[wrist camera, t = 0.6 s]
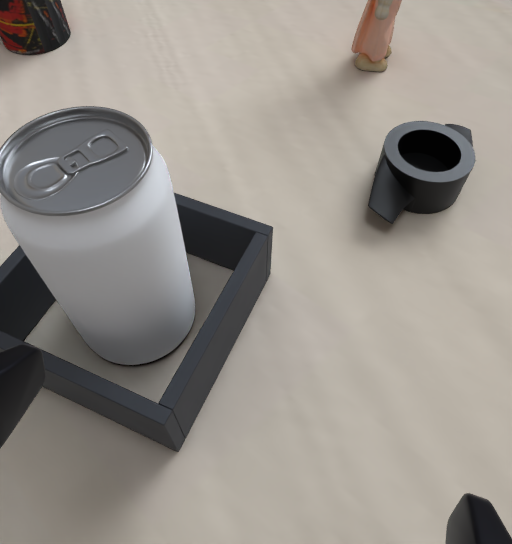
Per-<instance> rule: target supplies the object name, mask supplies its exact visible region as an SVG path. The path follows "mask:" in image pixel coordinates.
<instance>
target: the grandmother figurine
mask: <svg viewBox="0 0 512 544" xmlns="http://www.w3.org/2000/svg"><path fill="white" fill-rule="evenodd" d="M401 1H402V0H368V2H367V4H366V7H365V10H364V12H363V15H362V17H361V20H360V22H359V25H358V28H357V31H356V34H355V37H354V41H353V45H352V52H354V53H358V52H359V53H360V54H359V56H358V57H357V59H356V61H355V65H356V67H357V68H358V69H361V70H365V71H378V72H381V71H384V70H386V68H387V61H386V60H385V58H384V57H388V56H389V55H390V54H391V48H390V46H389V44H390V43H391V39H392V35H393V29H394V22H395V16H396V15H397V12H398V10H399V7H400V4H401Z"/></svg>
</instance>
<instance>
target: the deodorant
mask: <svg viewBox="0 0 512 544" xmlns="http://www.w3.org/2000/svg"><path fill="white" fill-rule="evenodd" d="M0 37H1V39H2V41H3V44H4V45H5V47H6V48H7V49H8V50H10V51H12V52H15V53H18V54H25V55H32V54H40V53H45V52H48V51H51V50H54V49H56V48H58V47H60V46H61V45H63V44H64V43H65V42H66V41H67V40H68V38H69V37H70V29H69V26H68V23H67V20H66V16H65V13H64V10H63V7H62V4H61V1H60V0H0Z"/></svg>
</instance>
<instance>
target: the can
mask: <svg viewBox="0 0 512 544" xmlns="http://www.w3.org/2000/svg"><path fill="white" fill-rule="evenodd" d="M0 193H1V194H0V202H1V210H2V214H3V217H4V219H5V221H6V224H7V226H8V227H9V229H10V231H11V232H12V234H13V236H14V237H15V239H16V240H17V242H18V243H19V245H20V246H21V248H22V249H23V251H24V253H25V254H26V256H27V257H28V259H29V260H30V261H31V263H32V264H33V266H34V267H35V269H36V270H37V272H38V273H39V275H40V276H41V278H42V279H43V281H44V282H45V284H46V285H47V287H48V288H49V290H50V291H51V293H52V294H53V296H54V297H55V299H56V300H57V302H58V303H59V304H60V306H61V307H62V309H63V310H64V312H65V313H66V315H67V316H68V318H69V319H70V321H71V322H72V323H73V325H74V326H75V328H76V329H77V331H78V332H79V334H80V335H81V336H82V338H83V339H84V341H85V342H86V343H87V345H88V346H89V347H90V348H91V349H92V350H93V351H94V352H95V353H97V354H98V355H99V356H101V357H102V358H104V359H106V360H108V361H111V362H114V363H118V364H124V365H136V364H143V363H148V362H151V361H154V360H157V359H159V358H161V357H163V356H165V355H166V354H168V353H170V352H171V351H172V350H174V349H175V348H176V347H177V346H178V345H179V344H180V343H181V342H182V341H183V340H184V338H185V337H186V336H187V334H188V332H189V331H190V329H191V326H192V324H193V321H194V317H195V299H194V292H193V287H192V282H191V276H190V271H189V266H188V261H187V256H186V251H185V246H184V241H183V236H182V231H181V226H180V221H179V216H178V211H177V206H176V201H175V196H174V192H173V187H172V183H171V178H170V174H169V171H168V168H167V165H166V163H165V161H164V159H163V158H162V156H161V155H160V153H159V152H158V151H157V150H156V149H155V147H154V146H153V145H152V141H151V138H150V135H149V134H148V132H147V130H146V129H145V128H144V126H143V125H142V124H141V123H140V122H138V121H137V120H136V119H134V118H133V117H131V116H129V115H128V114H125V113H123V112H120V111H117V110H114V109H110V108H104V107H94V106H83V107H73V108H67V109H62V110H58V111H54V112H51V113H48V114H45V115H43V116H40V117H38V118H36V119H34V120H32V121H30V122H29V123H27V124H25V125H24V126H22V127H21V128H19V129H18V130H17V131H16V132H14V133H13V134H12V135H11V136H10V137H9V138H8V139H7V140H6V141H5V143H4V144H3V145H2V147H1V148H0Z"/></svg>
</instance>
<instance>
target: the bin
mask: <svg viewBox="0 0 512 544" xmlns="http://www.w3.org/2000/svg"><path fill="white" fill-rule="evenodd" d="M174 196H175V201H176V206H177V211H178V216H179V221H180V226H181V231H182V236H183V241H184V246H185V251H186V252H187V253H190V254H193V255H195V256H198V257H201V258H203V259H206V260H209V261H211V262H214V263H217V264H219V265H222V266H224V267H227V268H230V269H232V270H234V272H233V273H232V275H231V277H230V279H229V280H228V282H227V284H226V286H225V287H224V289H223V291H222V293H221V294H220V296H219V298H218V300H217V301H216V303H215V305H214V307H213V308H212V310H211V312H210V314H209V315H208V317H207V319H206V321H205V322H204V324H203V326H202V328H201V329H200V331H199V333H198V335H197V336H196V338H195V340H194V342H193V343H192V345H191V347H190V349H189V350H188V352H187V354H186V356H185V358H184V359H183V361H182V363H181V365H180V366H179V368H178V370H177V372H176V373H175V375H174V377H173V379H172V380H171V382H170V384H169V386H168V387H167V389H166V391H165V393H164V394H163V396H162V398H161V400H160V401H159V404H157V403H155V402H153V401H151V400H149V399H147V398H145V397H142V396H140V395H138V394H136V393H134V392H132V391H129V390H127V389H125V388H123V387H121V386H119V385H117V384H114V383H112V382H110V381H108V380H106V379H104V378H101V377H99V376H97V375H95V374H93V373H91V372H89V371H86V370H84V369H82V368H80V367H78V366H76V365H73V364H71V363H69V362H67V361H65V360H63V359H61V358H58V357H56V356H54V355H52V354H50V353H48V352H45V351H43V350H41V351H42V353H43V359H44V366H45V373H46V377H45V382H44V384H43V387H45V388H47V389H49V390H51V391H53V392H55V393H57V394H59V395H61V396H63V397H66V398H68V399H70V400H72V401H74V402H76V403H78V404H80V405H82V406H84V407H86V408H88V409H90V410H92V411H94V412H96V413H98V414H101V415H103V416H105V417H107V418H109V419H111V420H113V421H115V422H117V423H119V424H121V425H123V426H125V427H127V428H129V429H131V430H133V431H136V432H138V433H140V434H142V435H144V436H146V437H148V438H150V439H152V440H154V441H156V442H158V443H160V444H162V445H164V446H166V447H168V448H171V449H173V450H175V451H177V452H178V451H179V450H180V448H181V446H182V444H183V442H184V440H185V438H186V436H187V435H188V433H189V431H190V429H191V427H192V425H193V423H194V421H195V419H196V417H197V415H198V413H199V411H200V409H201V407H202V405H203V404H204V402H205V400H206V398H207V396H208V394H209V392H210V390H211V388H212V386H213V384H214V382H215V380H216V378H217V376H218V374H219V373H220V371H221V369H222V367H223V365H224V363H225V361H226V359H227V357H228V355H229V353H230V351H231V349H232V347H233V345H234V343H235V341H236V340H237V338H238V336H239V334H240V332H241V330H242V328H243V326H244V324H245V322H246V320H247V318H248V316H249V314H250V312H251V310H252V309H253V307H254V305H255V303H256V301H257V299H258V297H259V295H260V293H261V291H262V289H263V287H264V285H265V283H266V281H267V279H268V277H269V275H270V269H271V251H272V234H273V227H272V226H269V225H266V224H263V223H260V222H257V221H254V220H252V219H249V218H246V217H243V216H240V215H237V214H234V213H231V212H228V211H226V210H223V209H220V208H217V207H214V206H211V205H208V204H205V203H202V202H200V201H197V200H194V199H191V198H188V197H185V196H182V195H179V194H176V193H174ZM55 300H56V299H55V297H54V296H53V294H52V293H51V291H50V290H49V288H48V287H47V285H46V284H45V282H44V281H43V279H42V278H41V276H40V275H39V273H38V272H37V270H36V269H35V267H34V266H33V264H32V263H31V261H30V260H29V259H28V257H27V256H26V254H25V253H24V251H23V249H22V248H21V246H20V245H19V246H18V248H17V249H16V250H15V251H14V252H13V253H12V254H11V255H10V256H9V257H8V258H7V260H6V261H5V262H4V263H3V264H2V265H1V266H0V352H2V351H4V350H7V349H9V348H12V347H14V346H17V345H20V344H28V343H26V342H24V341H23V340H24V339H25V338H26V336H27V335H28V334H29V333H30V331H31V330H32V329H33V328H34V326H35V325H36V324H37V322H38V321H39V320H40V319H41V317H42V316H43V315H44V314H45V312H46V311H47V310H48V309H49V307H50V306H51V305H52V304H53V302H54V301H55ZM28 345H30V344H28ZM31 346H33V345H31ZM34 347H35V346H34Z"/></svg>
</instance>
